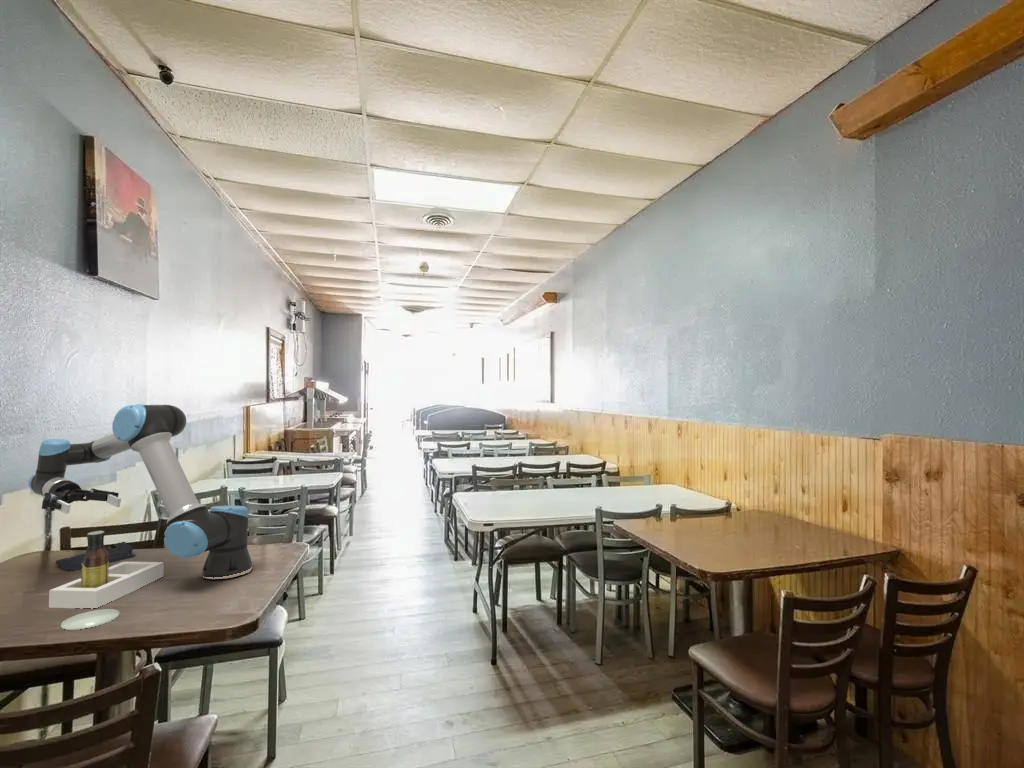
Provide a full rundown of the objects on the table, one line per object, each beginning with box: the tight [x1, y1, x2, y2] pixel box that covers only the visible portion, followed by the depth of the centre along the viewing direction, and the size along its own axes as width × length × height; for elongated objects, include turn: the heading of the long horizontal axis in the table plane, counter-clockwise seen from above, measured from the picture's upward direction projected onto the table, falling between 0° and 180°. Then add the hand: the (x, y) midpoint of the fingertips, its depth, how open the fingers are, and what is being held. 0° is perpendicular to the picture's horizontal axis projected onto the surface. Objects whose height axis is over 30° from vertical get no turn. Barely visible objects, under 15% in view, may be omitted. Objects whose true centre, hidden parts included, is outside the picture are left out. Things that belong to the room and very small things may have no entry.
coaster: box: [60, 608, 120, 631], centre depth 133 cm, size 12×12×1 cm
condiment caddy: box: [48, 561, 165, 610], centre depth 153 cm, size 14×26×5 cm, turn 178°
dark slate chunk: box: [54, 541, 137, 572], centre depth 183 cm, size 15×22×5 cm
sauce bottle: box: [80, 530, 110, 588], centre depth 148 cm, size 7×6×20 cm
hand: (94, 506), depth 157 cm, fingers open, 13 cm apart
